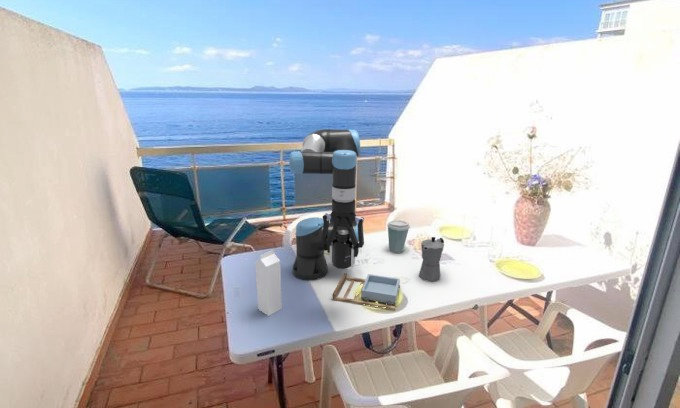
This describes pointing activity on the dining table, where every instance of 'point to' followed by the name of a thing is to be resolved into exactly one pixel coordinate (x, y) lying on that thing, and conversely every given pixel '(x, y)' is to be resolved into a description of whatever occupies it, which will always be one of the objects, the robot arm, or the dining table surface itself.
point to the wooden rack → (355, 301)
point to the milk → (268, 283)
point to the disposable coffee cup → (397, 235)
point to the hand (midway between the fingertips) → (342, 263)
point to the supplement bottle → (342, 250)
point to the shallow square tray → (380, 289)
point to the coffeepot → (431, 259)
